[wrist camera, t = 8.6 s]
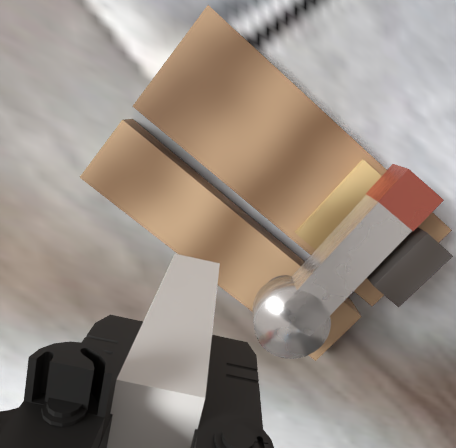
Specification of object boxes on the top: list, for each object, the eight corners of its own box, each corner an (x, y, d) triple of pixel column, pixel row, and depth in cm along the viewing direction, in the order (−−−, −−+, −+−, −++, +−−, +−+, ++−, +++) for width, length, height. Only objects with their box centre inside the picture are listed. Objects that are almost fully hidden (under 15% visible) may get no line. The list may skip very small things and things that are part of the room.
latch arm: (291, 351, 26) (296, 372, 24) (238, 313, 25) (238, 330, 23) (436, 201, 23) (455, 210, 21) (381, 153, 22) (395, 157, 20)
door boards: (432, 220, 28) (491, 251, 21) (309, 341, 30) (328, 400, 24) (210, 15, 24) (202, -18, 18) (93, 171, 27) (51, 189, 21)
